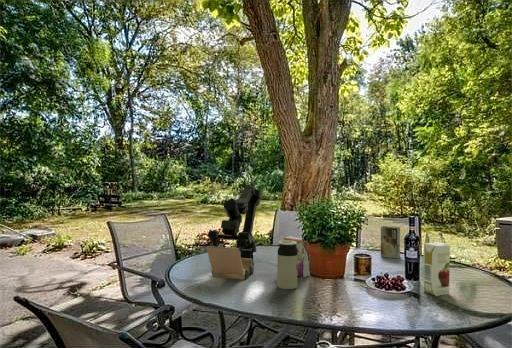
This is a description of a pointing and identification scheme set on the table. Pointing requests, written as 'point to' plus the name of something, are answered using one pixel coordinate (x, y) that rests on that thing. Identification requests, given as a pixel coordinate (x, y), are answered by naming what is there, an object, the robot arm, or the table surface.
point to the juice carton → (436, 268)
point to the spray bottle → (300, 257)
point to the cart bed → (247, 271)
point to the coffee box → (390, 242)
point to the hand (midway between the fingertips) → (224, 254)
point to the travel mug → (287, 265)
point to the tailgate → (225, 260)
